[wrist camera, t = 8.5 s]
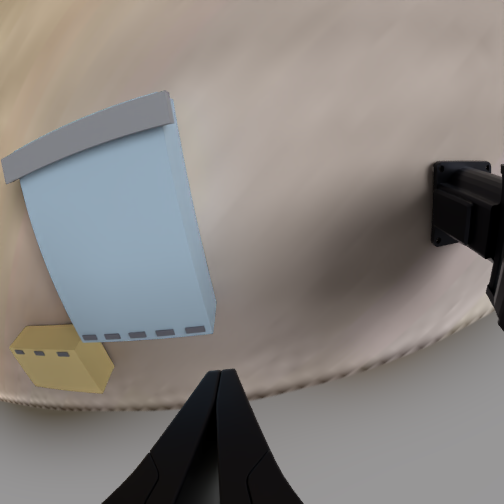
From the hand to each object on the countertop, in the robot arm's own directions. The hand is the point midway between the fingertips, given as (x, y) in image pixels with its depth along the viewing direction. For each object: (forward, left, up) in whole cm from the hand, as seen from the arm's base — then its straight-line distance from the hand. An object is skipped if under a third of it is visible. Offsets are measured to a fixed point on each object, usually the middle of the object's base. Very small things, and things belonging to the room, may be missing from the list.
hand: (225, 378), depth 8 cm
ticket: (+7, -3, -11) cm, 14 cm away
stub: (+18, +7, -11) cm, 22 cm away
